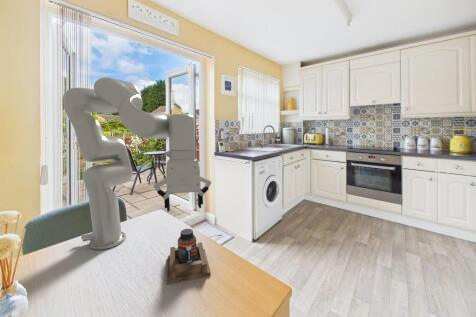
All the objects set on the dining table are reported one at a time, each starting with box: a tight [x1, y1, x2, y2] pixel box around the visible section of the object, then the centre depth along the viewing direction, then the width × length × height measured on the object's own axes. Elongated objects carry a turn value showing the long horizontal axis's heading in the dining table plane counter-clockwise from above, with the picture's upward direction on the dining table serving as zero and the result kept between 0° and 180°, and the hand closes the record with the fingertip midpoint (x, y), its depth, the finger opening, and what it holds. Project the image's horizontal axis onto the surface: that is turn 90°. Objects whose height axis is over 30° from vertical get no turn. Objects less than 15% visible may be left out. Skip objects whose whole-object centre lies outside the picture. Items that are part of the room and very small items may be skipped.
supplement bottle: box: [177, 228, 197, 264], centre depth 69 cm, size 6×6×11 cm
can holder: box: [166, 241, 212, 285], centre depth 69 cm, size 13×13×4 cm
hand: (184, 208), depth 67 cm, fingers open, 9 cm apart
